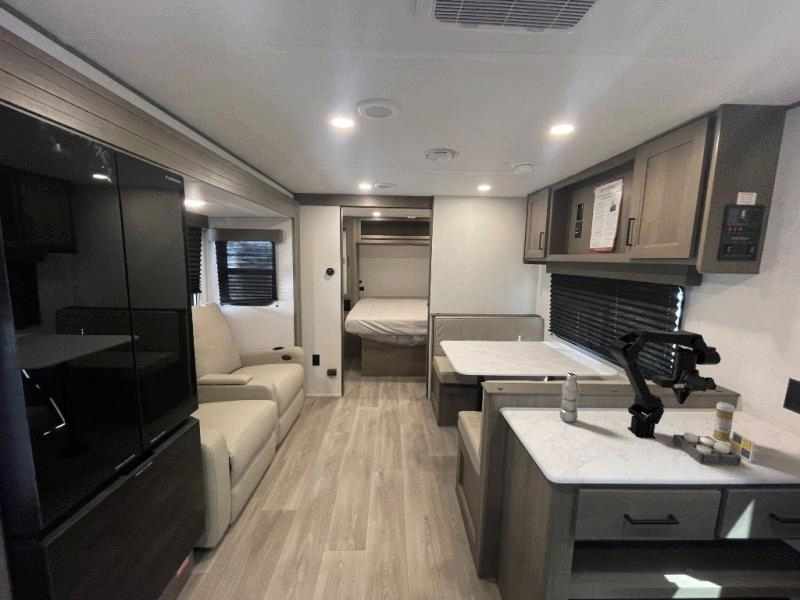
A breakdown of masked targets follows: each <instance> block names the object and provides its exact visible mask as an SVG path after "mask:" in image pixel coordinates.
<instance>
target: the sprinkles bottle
mask: <svg viewBox="0 0 800 600" xmlns="http://www.w3.org/2000/svg"><path fill="white" fill-rule="evenodd" d="M734 412H735V406H734V405H733V404H730V403H727V402H721V401H720V402H717V403H716V413H715V420H714V426H713V433H712V437H713V438H715V439H716V440H719V441H723V442H730V440H731V439H730V437H731V431H732V426H733V417H734Z"/></svg>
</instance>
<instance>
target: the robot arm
mask: <svg viewBox="0 0 800 600" xmlns="http://www.w3.org/2000/svg"><path fill="white" fill-rule="evenodd" d="M632 342H634V343H633V344H632ZM649 342H653V343H663V344H672V345H673V344H674V345H677V346H676V347H674V348H672V349H671V352H672V353H675V354H676V356H675V358H676V359H675V363H673V364H672V368H674V371H673V372H674V373H673V374H671V375H670V376H671V378H670V377H668V376H665V375H653V376H652V377H651V382H652V383H653V384H655V385H657V386H659V387H660V388H662V389H671V390H672V392H673V394H674V396H675V399H676V401H677V403H678V404H679V405H684V404H685V402H686V400H687V399H688V398H689V396H690V395H691V394H693V393H694V392H707V390H708V391H716V390H717V384H716V382H715V379H714V378H713V377H709V376H706V377H705V376H702V375H700V370H699V369H697V365H699V366H707V365H708V366H716V365H718V364H720V363H721V359H722V358H721V354H720V353H719V352H718V351H717V347H714V346H709V345H708V344H707V343H706V342H705V340H704V337H703V335H702V334H700V333H697V332H696V333H695V332H692V331H688V330H682V329H681V330H674V331H661V330H660V331H659V330H648V329H641V328H635V329H633V330H632V331H631V332H628V333H626V334H624V335H621V336H619V337H618V338H617V339H615V340H613V341H611V343H610V345H609V348H608V349H609V352H610V353H611V354H612V355H613V357H614V358H615V359H616V360H617V361H618V362H619V364H621V366H622V367H623V371H624V372H625V375H626V377H627V379H628V381H629V384H630V386H631V388H632V390H633V392H634V394H635V395H634V398H633V401H634V402H633V403H632V404H631V405H630V406H629V407H628V408H627V412H628V413H629V414H630V415H631V421H630V426H627V430H629V431H630V432H631V433H632V434H634V436H636V437H637V438H643V439H657V438H656V436H655V430H656V425H659V423H660V421H661V418H662V417H663V415H664V412H665V409H664V408H665V407H666V406H665V405H664V404H663V402H662V399H661V397H659V396H658V395H656V394H654V393H652V391H650V389H649V386H648V384H647V382H646V381H647V380H645V377H644V375H643V372H642V370H641V368H640V365H639V364H638V360H639V358H640V357H639V353H640V352H642V351H643V350H644V349H645V346H646V344H647V343H649ZM682 346H683V347H682ZM684 347H685V348H684Z"/></svg>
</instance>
